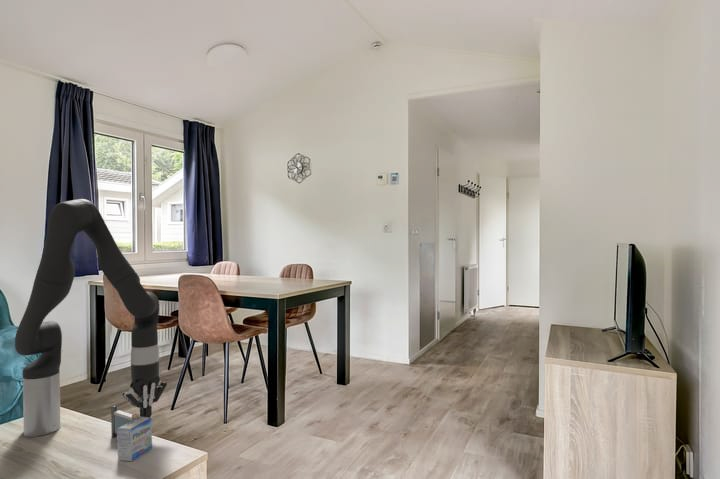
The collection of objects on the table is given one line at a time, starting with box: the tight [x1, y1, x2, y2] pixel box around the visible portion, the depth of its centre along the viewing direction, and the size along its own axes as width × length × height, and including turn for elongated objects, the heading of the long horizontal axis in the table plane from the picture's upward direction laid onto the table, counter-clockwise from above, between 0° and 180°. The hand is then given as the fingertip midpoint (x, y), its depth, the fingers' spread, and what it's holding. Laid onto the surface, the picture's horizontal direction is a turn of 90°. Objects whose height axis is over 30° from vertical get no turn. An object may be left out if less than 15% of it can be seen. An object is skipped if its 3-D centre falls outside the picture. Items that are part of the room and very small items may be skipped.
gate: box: [114, 409, 140, 434], centre depth 128 cm, size 10×1×7 cm, turn 59°
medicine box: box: [116, 416, 153, 462], centre depth 120 cm, size 8×4×9 cm, turn 165°
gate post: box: [110, 405, 118, 439], centre depth 131 cm, size 2×2×9 cm
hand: (146, 418), depth 130 cm, fingers closed
